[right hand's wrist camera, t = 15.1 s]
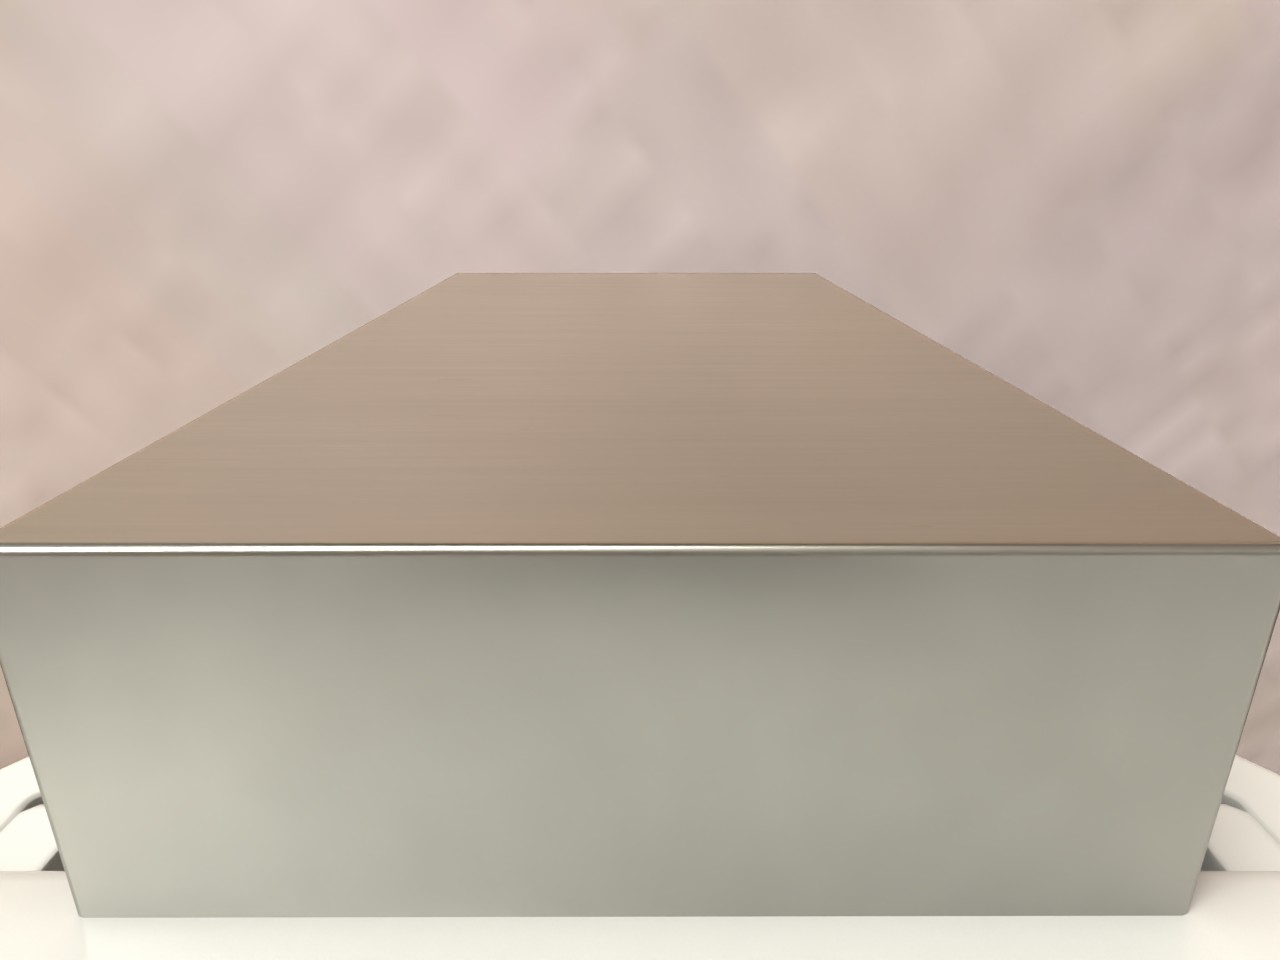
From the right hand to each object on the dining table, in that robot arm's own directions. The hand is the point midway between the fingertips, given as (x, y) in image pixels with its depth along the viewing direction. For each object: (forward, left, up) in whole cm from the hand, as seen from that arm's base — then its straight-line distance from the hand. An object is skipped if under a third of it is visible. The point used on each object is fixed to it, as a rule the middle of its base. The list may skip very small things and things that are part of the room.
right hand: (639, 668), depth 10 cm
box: (+7, +5, -6) cm, 11 cm away
